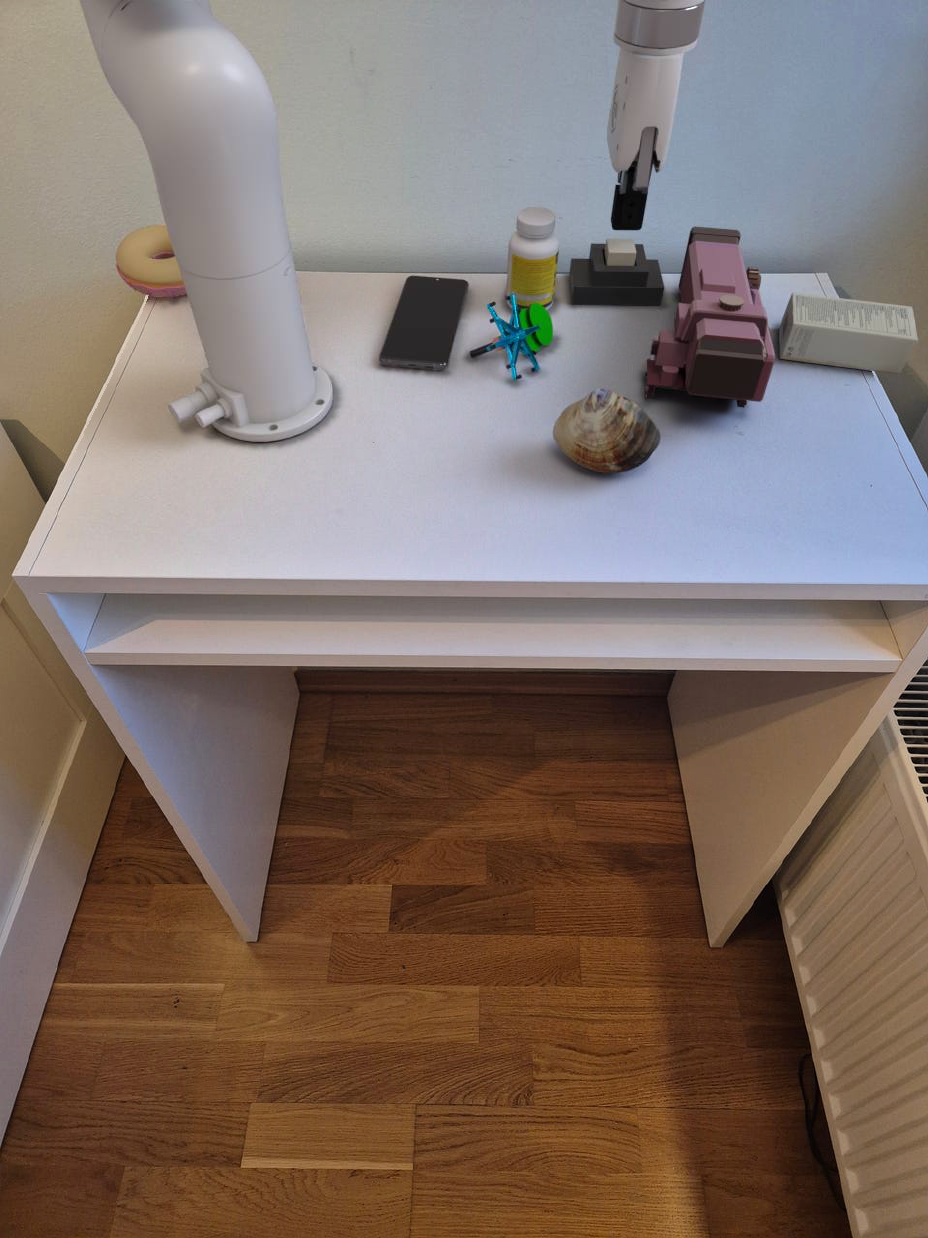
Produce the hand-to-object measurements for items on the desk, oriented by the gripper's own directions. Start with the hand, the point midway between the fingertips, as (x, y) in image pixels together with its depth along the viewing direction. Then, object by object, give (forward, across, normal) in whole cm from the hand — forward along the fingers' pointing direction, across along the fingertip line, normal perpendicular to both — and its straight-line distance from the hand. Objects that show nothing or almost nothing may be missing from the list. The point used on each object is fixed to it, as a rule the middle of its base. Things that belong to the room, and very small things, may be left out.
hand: (625, 226), depth 85 cm
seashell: (+7, +30, -4) cm, 31 cm away
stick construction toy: (+8, +13, -12) cm, 19 cm away
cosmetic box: (+5, +10, +16) cm, 20 cm away
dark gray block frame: (+7, 0, 0) cm, 7 cm away
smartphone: (+7, +8, -21) cm, 24 cm away
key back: (+4, 0, 0) cm, 4 cm away
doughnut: (+3, -1, -51) cm, 51 cm away
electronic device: (+7, +13, +7) cm, 17 cm away
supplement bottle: (+8, +3, -10) cm, 13 cm away
